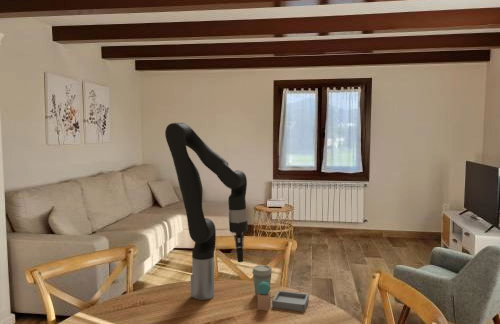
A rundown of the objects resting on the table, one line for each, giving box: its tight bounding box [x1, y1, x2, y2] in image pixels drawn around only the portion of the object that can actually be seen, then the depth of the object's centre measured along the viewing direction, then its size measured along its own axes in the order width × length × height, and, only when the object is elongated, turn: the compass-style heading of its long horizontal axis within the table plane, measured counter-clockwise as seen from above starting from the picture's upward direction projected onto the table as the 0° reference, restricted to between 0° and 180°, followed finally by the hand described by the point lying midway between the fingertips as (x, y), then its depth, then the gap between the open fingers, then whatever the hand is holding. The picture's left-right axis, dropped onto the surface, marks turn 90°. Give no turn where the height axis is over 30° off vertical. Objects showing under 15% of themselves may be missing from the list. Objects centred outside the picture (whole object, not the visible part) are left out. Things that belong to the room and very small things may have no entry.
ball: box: [258, 282, 271, 295], centre depth 161 cm, size 5×5×5 cm
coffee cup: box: [252, 264, 273, 298], centre depth 174 cm, size 8×8×12 cm
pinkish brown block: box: [257, 291, 271, 312], centre depth 161 cm, size 4×4×6 cm
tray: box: [271, 290, 310, 312], centre depth 165 cm, size 13×11×3 cm
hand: (240, 258), depth 166 cm, fingers open, 8 cm apart
